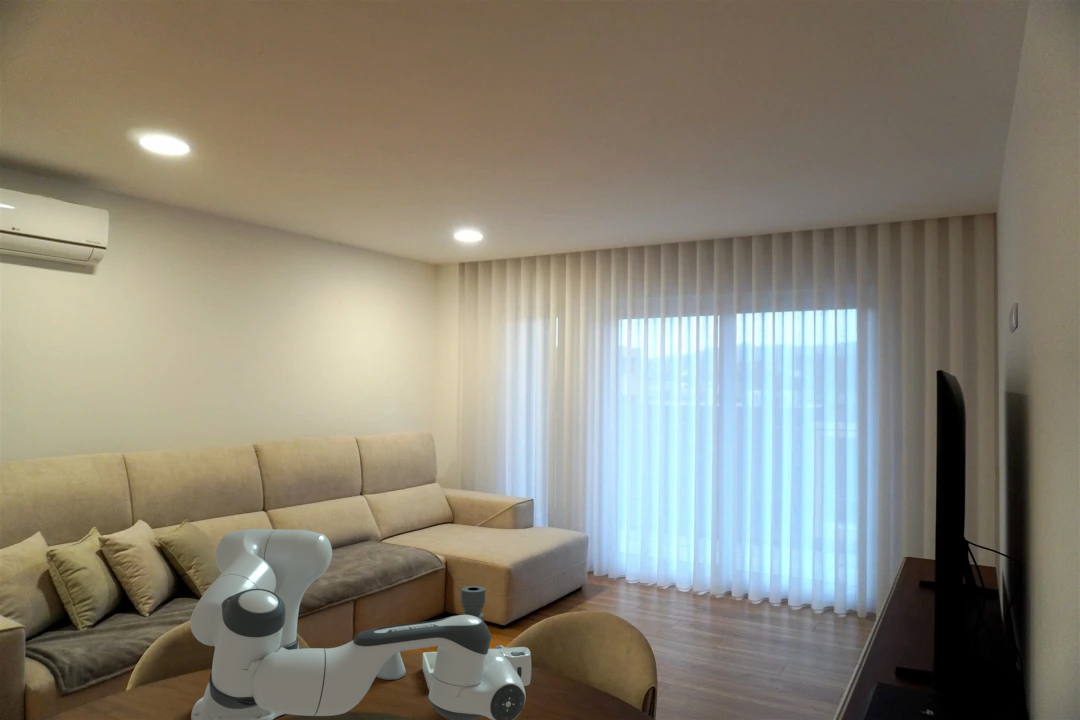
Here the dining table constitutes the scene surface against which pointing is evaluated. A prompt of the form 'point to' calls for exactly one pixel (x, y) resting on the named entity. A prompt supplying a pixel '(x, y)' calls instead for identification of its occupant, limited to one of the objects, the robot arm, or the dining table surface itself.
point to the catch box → (428, 666)
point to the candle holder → (473, 600)
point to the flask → (392, 668)
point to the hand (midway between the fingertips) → (478, 650)
